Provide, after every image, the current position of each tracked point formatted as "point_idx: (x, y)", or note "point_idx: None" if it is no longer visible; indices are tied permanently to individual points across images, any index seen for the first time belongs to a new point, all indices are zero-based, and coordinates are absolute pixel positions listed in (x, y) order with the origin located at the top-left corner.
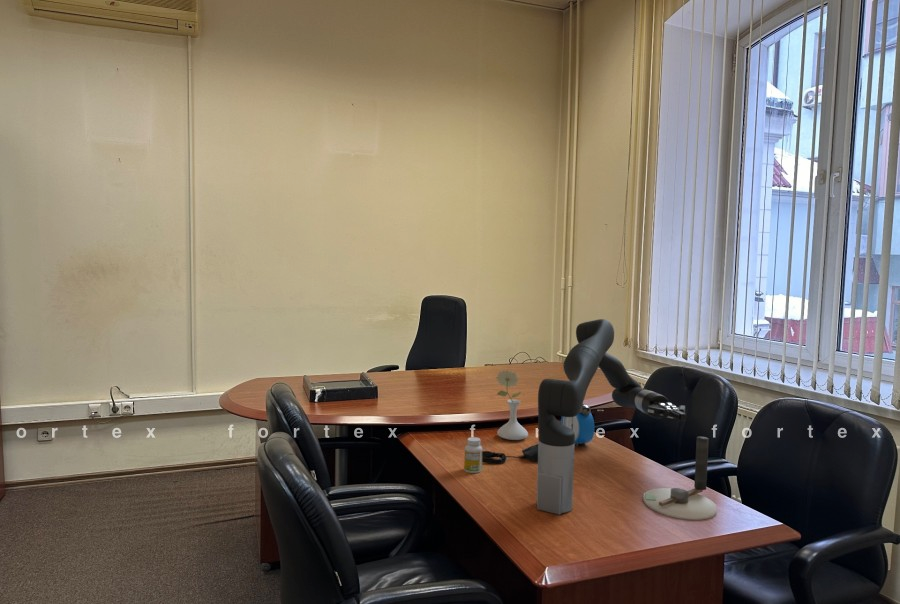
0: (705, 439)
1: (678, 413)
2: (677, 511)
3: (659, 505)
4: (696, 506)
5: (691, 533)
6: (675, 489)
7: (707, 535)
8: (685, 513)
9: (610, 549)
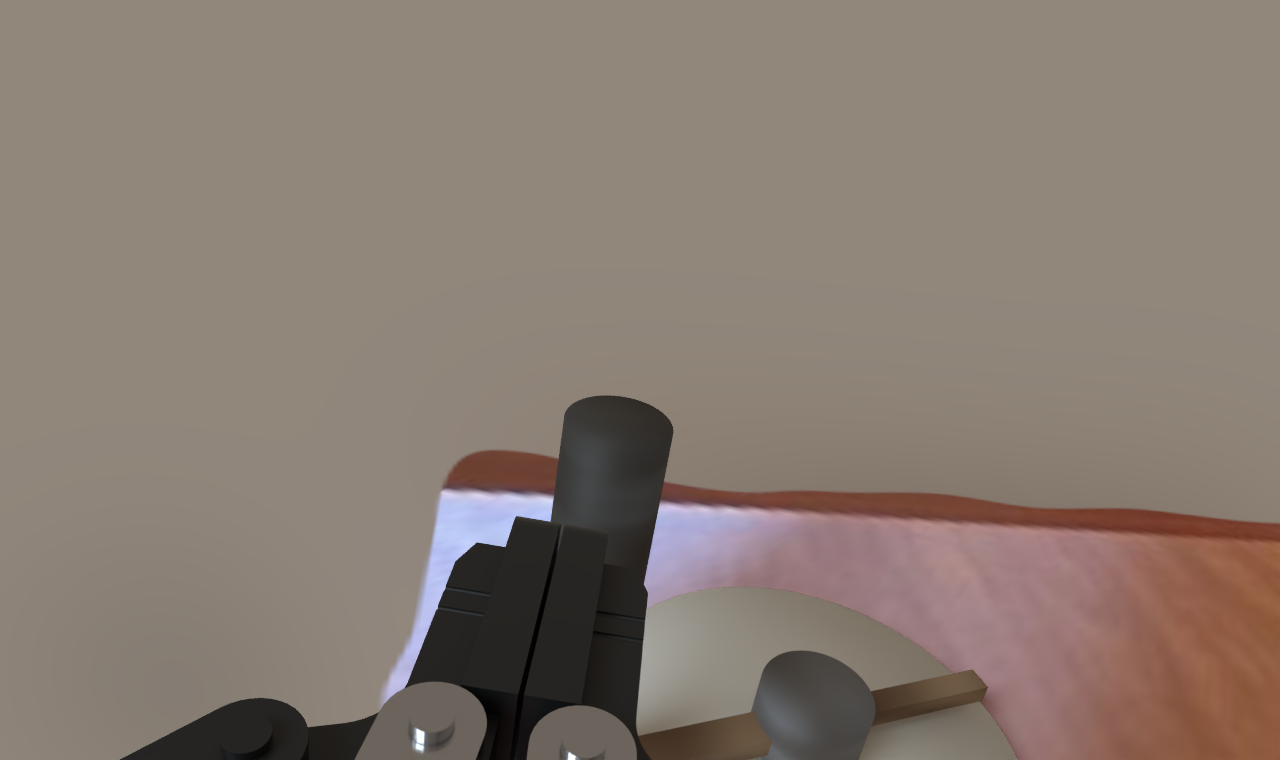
0: (623, 401)
1: (601, 588)
2: (882, 651)
3: (960, 733)
4: (734, 662)
5: (891, 547)
6: (831, 722)
7: (831, 522)
8: (849, 625)
9: (1255, 562)
